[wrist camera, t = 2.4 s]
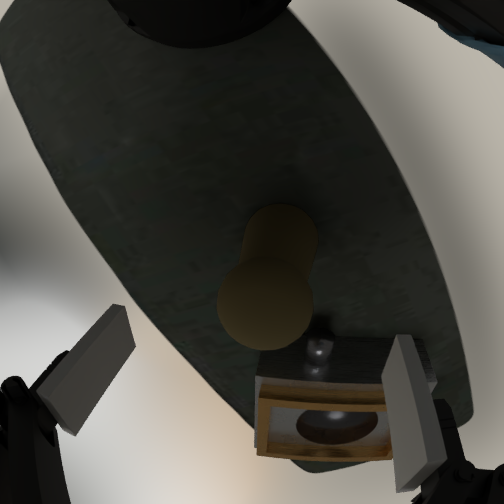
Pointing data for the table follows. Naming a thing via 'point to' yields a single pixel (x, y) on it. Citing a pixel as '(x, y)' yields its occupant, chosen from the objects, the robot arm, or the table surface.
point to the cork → (271, 280)
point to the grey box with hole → (326, 398)
